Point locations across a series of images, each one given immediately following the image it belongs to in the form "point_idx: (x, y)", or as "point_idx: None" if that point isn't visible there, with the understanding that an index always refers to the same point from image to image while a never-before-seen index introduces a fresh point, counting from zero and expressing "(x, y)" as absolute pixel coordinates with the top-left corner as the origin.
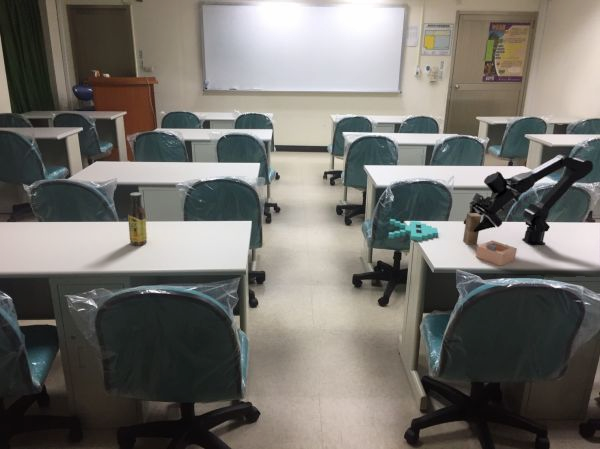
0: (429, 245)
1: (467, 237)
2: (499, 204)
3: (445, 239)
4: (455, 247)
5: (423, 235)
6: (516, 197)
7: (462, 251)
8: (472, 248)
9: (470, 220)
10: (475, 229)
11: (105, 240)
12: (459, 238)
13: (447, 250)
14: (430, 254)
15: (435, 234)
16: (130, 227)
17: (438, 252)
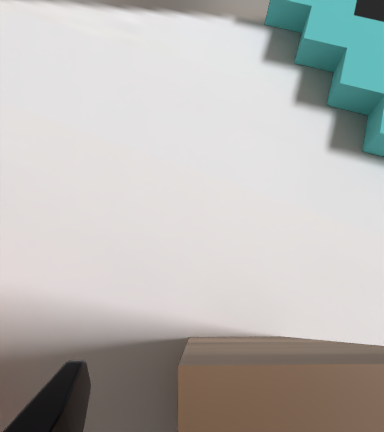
0: (182, 46)
1: (206, 339)
2: None
3: (312, 194)
4: (132, 207)
5: (308, 15)
6: None
7: (43, 230)
8: (96, 349)
9: (197, 353)
10: (42, 392)
11: None
12: (351, 330)
13: (79, 128)
14: (29, 9)
15: (374, 123)
16: None
17: (52, 61)
